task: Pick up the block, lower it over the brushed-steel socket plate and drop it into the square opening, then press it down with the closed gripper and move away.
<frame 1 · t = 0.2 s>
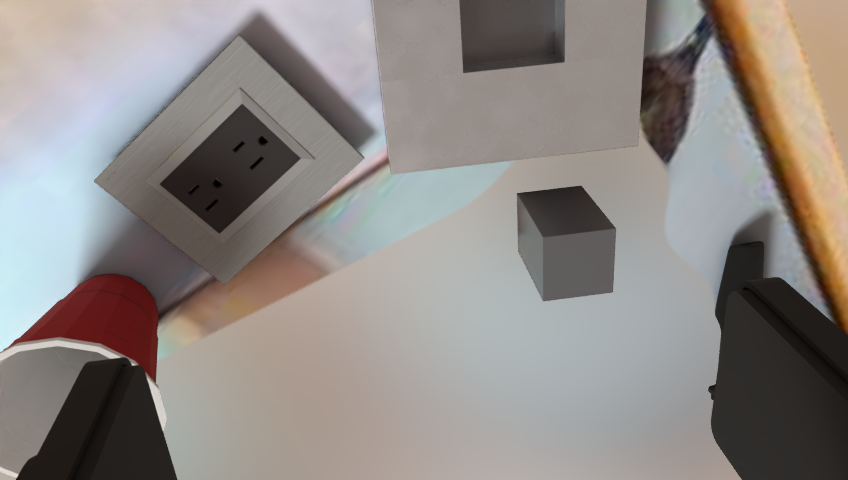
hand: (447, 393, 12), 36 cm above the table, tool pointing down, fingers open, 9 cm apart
plastic cup: (119, 308, 51), on the table
socket plate: (502, 6, 45), on the table
electrical outlet: (235, 157, 48), on the table
electric trimmer: (727, 317, 58), on the table
block: (549, 219, 52), on the table
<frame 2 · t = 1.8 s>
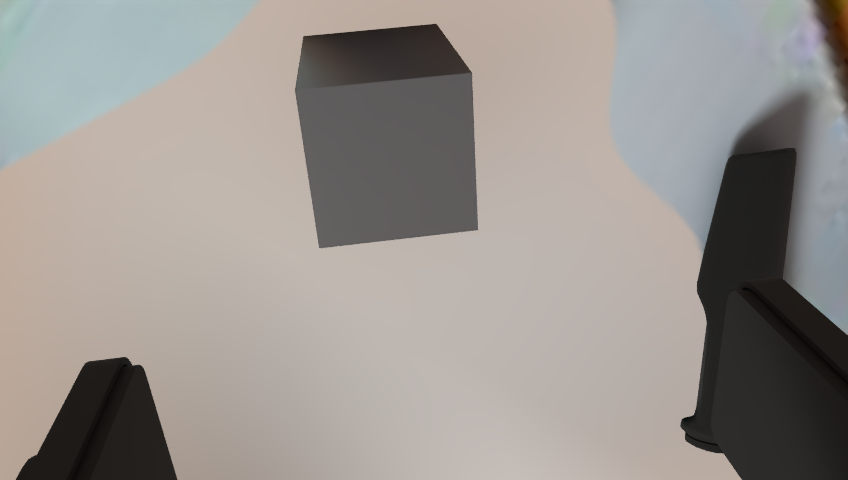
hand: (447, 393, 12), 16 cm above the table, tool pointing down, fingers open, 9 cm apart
electric trimmer: (719, 298, 32), on the table
block: (376, 95, 26), on the table
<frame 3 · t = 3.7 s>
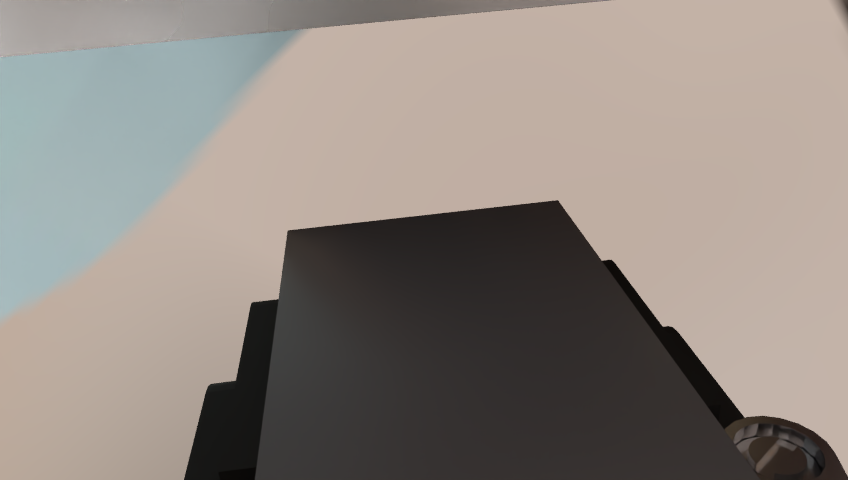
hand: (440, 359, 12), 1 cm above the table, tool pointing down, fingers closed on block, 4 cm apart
block: (433, 329, 13), on the table, touching gripper
when the fingers open (4 cm above the table, at t = 9.0 s): block drops 3 cm, resting on socket plate.
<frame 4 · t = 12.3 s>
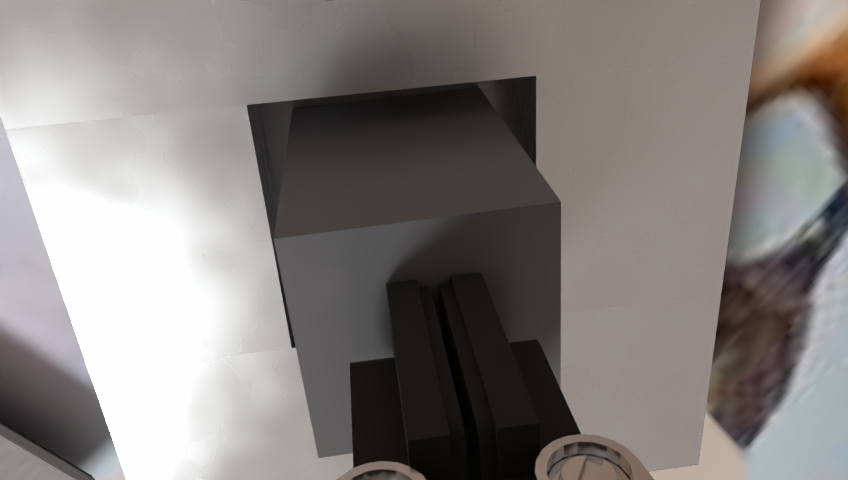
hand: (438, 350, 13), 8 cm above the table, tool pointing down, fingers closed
socket plate: (394, 174, 19), on the table
block: (396, 184, 19), point 1 cm above the table, touching gripper, socket plate
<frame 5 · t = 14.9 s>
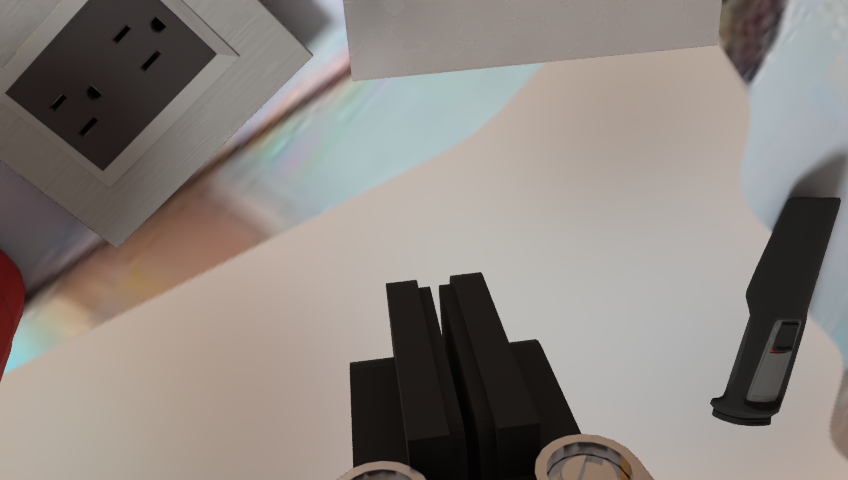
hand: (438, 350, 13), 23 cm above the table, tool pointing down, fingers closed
electrical outlet: (126, 60, 33), on the table
electric trimmer: (757, 306, 42), on the table
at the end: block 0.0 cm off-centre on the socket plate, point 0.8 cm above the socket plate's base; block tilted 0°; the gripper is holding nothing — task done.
